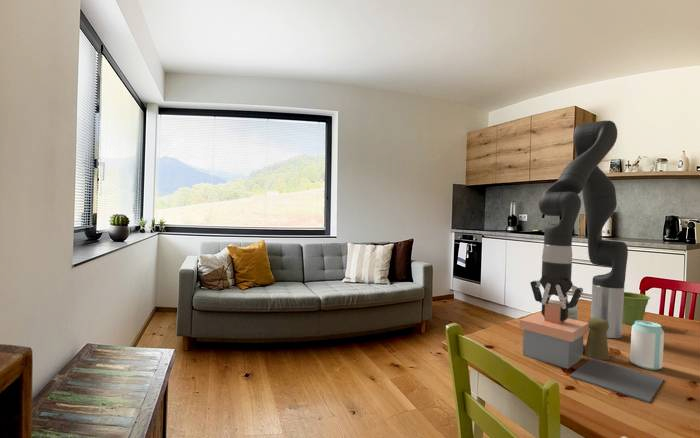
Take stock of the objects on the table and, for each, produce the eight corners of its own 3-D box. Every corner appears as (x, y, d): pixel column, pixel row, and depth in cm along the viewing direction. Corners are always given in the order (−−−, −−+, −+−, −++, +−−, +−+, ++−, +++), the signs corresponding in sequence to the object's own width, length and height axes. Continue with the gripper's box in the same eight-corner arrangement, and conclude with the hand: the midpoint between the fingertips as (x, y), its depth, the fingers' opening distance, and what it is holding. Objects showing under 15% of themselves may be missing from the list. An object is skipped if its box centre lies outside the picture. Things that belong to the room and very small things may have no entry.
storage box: (539, 345, 114) (540, 320, 114) (582, 358, 105) (583, 330, 105) (522, 354, 107) (523, 327, 106) (567, 368, 98) (569, 339, 97)
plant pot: (611, 316, 151) (612, 290, 151) (647, 322, 144) (649, 294, 144) (611, 323, 142) (612, 294, 142) (650, 330, 135) (651, 300, 135)
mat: (591, 359, 105) (591, 358, 105) (663, 380, 93) (663, 378, 93) (569, 376, 93) (569, 375, 93) (649, 403, 81) (649, 401, 81)
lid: (538, 319, 116) (539, 296, 116) (588, 331, 105) (590, 305, 105) (519, 328, 107) (520, 302, 106) (572, 341, 96) (573, 313, 96)
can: (623, 359, 105) (625, 319, 105) (648, 361, 105) (650, 320, 105) (642, 370, 98) (644, 326, 98) (669, 371, 98) (671, 327, 98)
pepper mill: (579, 351, 111) (581, 315, 110) (598, 351, 111) (600, 316, 111) (594, 359, 105) (596, 322, 104) (614, 359, 105) (616, 322, 105)
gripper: (589, 262, 103) (586, 322, 103) (536, 256, 113) (534, 311, 114) (580, 264, 98) (577, 327, 98) (526, 258, 108) (523, 315, 109)
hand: (554, 318), depth 106 cm, fingers closed on lid, 4 cm apart
